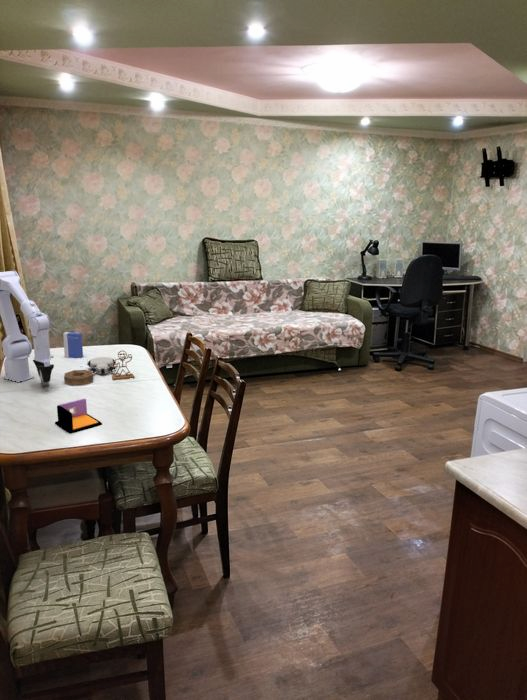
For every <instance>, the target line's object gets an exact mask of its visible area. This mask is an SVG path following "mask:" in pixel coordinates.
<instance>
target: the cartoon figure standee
mask: <svg viewBox="0 0 527 700" xmlns="http://www.w3.org/2000/svg"><path fill="white" fill-rule="evenodd" d="M121 352H123V353H121ZM122 355H123V356H122ZM117 357H118V358H115V359H116V360H115V359H114V362H115V361H116V363H114V362H113V367H114V368H117V367H118V369H116V370H117V371H116V372H115V374H113V375H111V379H112V381H121V380H122V379H123V380H131V379H130V378H133V379H135V375H134V373H131V371H130V370H129V369H128V367H127V365H124V362H125V364H127V363H128V364H129V363H130V362H131V361H132V359H133V355H132V354H131V353H130V354H127V352H126V351H125V350H120V351H118V353H117ZM127 359H129V360H128V361H125V360H127ZM119 360H120V362H121V363H122V364H121V363H120V362H117V361H119ZM120 368H121V371H120V373H119V370H120ZM123 368H126V370H127V372H125V370H124V369H123ZM122 373H123V374H122Z"/></svg>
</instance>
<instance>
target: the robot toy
mask: <svg viewBox="0 0 527 700" xmlns="http://www.w3.org/2000/svg"><path fill="white" fill-rule="evenodd" d="M116 359H117V358H112V357H106V356H105V357H103V356H100V357H93V358H91V359H89V360H88V358H87V359H86V365H87V367H89V368H90V370H89V371H92V372H93V374H95V373H97V374H98V375H107V374H108V373H109V372H111V373H116V372H117V370H118V369H116V367H113V362H114V360H116ZM114 363H115V364H117V360H116V361H115V362H114Z"/></svg>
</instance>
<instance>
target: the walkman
mask: <svg viewBox="0 0 527 700" xmlns="http://www.w3.org/2000/svg"><path fill="white" fill-rule="evenodd" d="M62 337H63V350H64V358H68V359H82V358H83V357H84V350H83V349H84V348H83V334H82V332H79V331H76V332H73V331H72V332H71V331H68V332H67V331H65V332H64V333H62Z"/></svg>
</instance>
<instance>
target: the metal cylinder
mask: <svg viewBox="0 0 527 700" xmlns="http://www.w3.org/2000/svg"><path fill="white" fill-rule="evenodd" d="M39 378H40V379H39V380H40V388H42V389H43V388H44V389H46V387H47V388H49V387H50V382H45V383H44V381H43V378H42V374H41V371H40V377H39Z"/></svg>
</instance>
